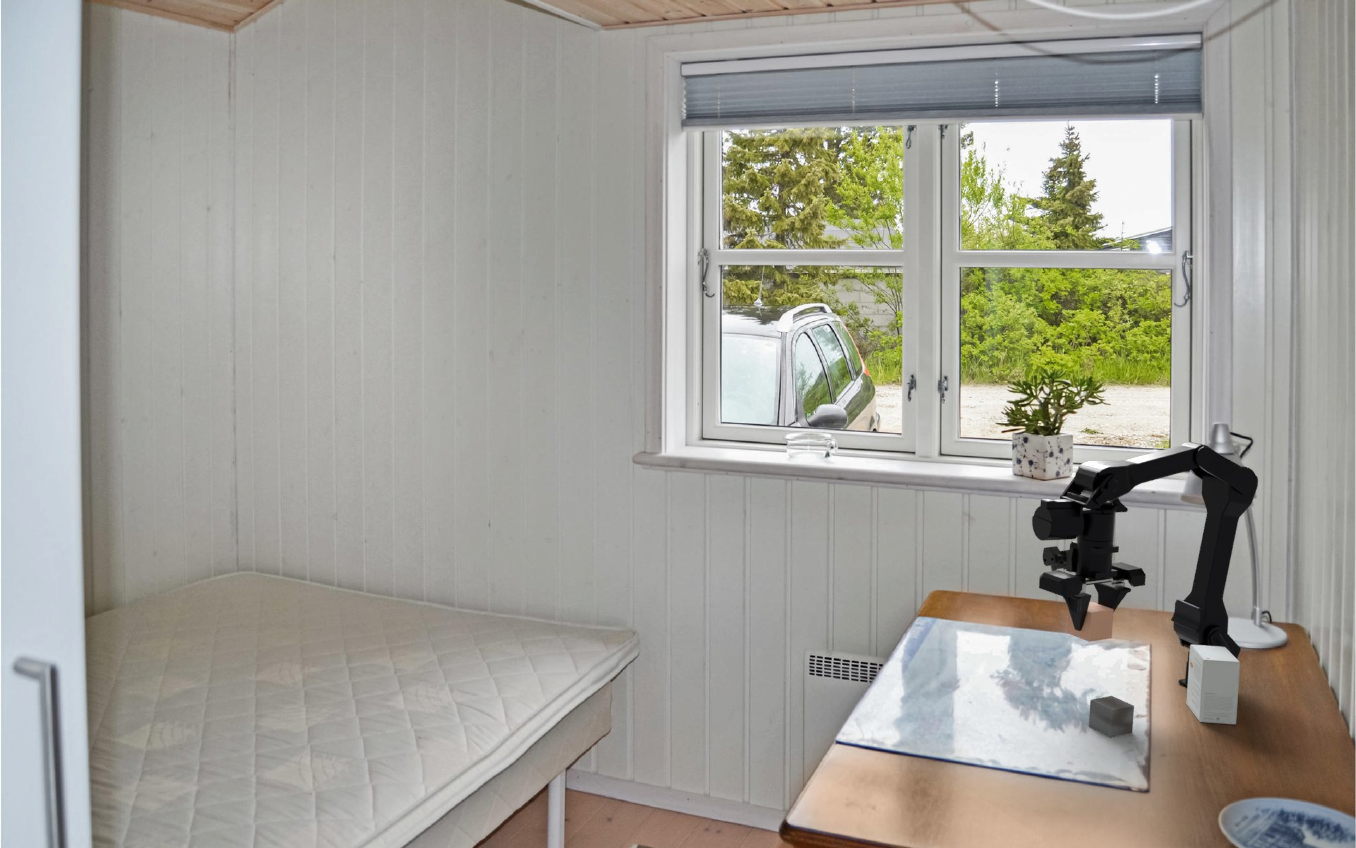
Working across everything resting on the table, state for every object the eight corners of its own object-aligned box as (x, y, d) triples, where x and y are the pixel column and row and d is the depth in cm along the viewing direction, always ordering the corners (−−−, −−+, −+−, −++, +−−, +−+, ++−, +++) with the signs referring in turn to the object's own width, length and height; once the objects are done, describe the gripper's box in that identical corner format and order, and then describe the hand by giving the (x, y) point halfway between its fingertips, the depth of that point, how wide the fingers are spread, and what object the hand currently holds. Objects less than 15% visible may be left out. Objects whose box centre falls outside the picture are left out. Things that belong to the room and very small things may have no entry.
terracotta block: (1088, 629, 183) (1090, 601, 183) (1111, 638, 179) (1113, 609, 178) (1067, 633, 181) (1068, 604, 181) (1089, 641, 177) (1091, 612, 176)
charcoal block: (1109, 722, 171) (1111, 695, 170) (1132, 733, 167) (1134, 705, 166) (1088, 727, 169) (1090, 699, 168) (1110, 738, 165) (1112, 710, 164)
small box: (1236, 726, 170) (1241, 662, 168) (1198, 722, 171) (1203, 659, 169) (1221, 707, 177) (1226, 646, 176) (1185, 704, 179) (1189, 643, 177)
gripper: (1099, 523, 189) (1094, 609, 191) (1018, 532, 181) (1013, 621, 183) (1150, 537, 179) (1144, 627, 181) (1066, 547, 171) (1061, 640, 173)
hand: (1089, 628), depth 180 cm, fingers closed on terracotta block, 5 cm apart
